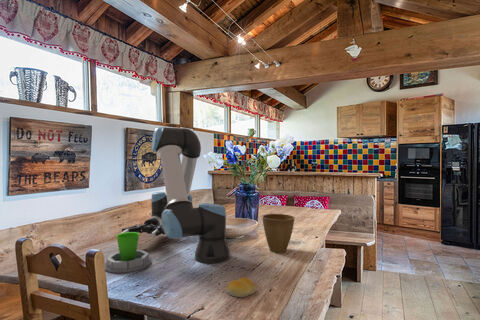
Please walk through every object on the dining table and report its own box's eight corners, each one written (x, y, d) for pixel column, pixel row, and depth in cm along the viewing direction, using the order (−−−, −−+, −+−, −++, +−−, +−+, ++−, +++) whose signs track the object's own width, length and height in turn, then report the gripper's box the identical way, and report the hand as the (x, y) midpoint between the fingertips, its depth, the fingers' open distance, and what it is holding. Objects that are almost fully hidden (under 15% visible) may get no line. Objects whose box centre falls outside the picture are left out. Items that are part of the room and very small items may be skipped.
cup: (125, 267, 110) (125, 239, 110) (111, 263, 115) (111, 235, 115) (144, 260, 118) (144, 233, 118) (130, 256, 123) (130, 231, 123)
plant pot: (282, 258, 124) (282, 221, 124) (255, 251, 134) (255, 216, 134) (300, 250, 135) (300, 216, 135) (274, 244, 145) (274, 212, 145)
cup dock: (159, 264, 116) (159, 256, 116) (113, 277, 104) (113, 267, 104) (139, 254, 129) (139, 246, 129) (97, 264, 117) (97, 255, 117)
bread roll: (222, 290, 94) (222, 278, 94) (245, 284, 98) (245, 272, 98) (235, 301, 87) (235, 288, 87) (259, 293, 91) (259, 281, 91)
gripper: (177, 232, 147) (165, 244, 126) (128, 232, 148) (108, 244, 126) (177, 217, 147) (165, 227, 126) (128, 217, 148) (108, 227, 126)
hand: (137, 236), depth 126 cm, fingers open, 13 cm apart
